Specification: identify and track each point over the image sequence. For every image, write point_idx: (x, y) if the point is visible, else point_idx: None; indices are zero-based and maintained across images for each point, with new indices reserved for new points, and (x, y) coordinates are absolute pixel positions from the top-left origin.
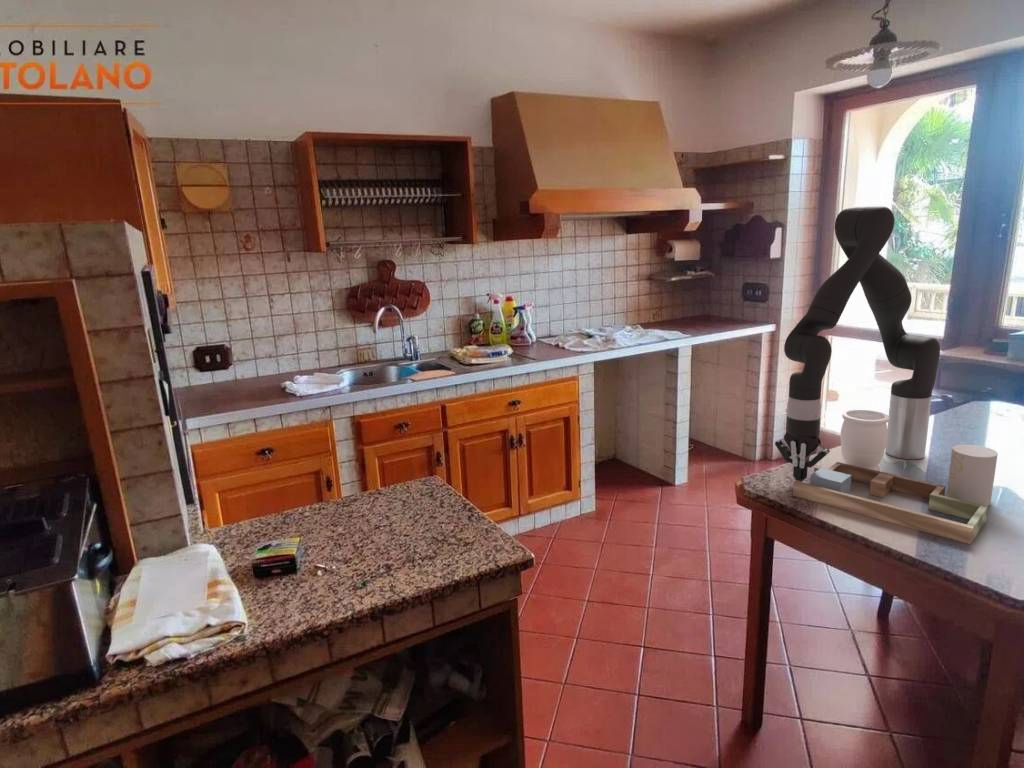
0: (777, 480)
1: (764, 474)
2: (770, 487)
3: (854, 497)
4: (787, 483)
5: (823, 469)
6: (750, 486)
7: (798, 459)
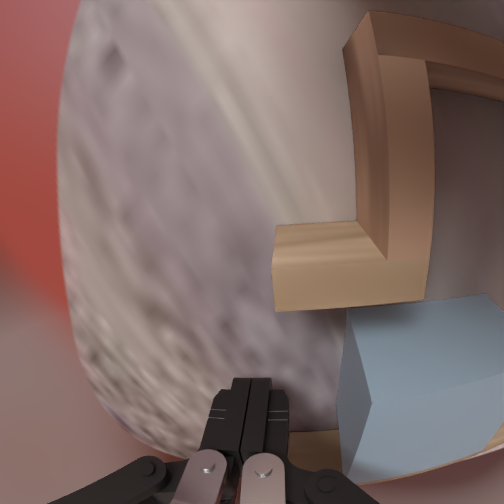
0: (153, 368)
1: (80, 337)
2: (189, 428)
3: (501, 442)
4: (204, 375)
5: (394, 413)
6: (147, 439)
7: (204, 488)
